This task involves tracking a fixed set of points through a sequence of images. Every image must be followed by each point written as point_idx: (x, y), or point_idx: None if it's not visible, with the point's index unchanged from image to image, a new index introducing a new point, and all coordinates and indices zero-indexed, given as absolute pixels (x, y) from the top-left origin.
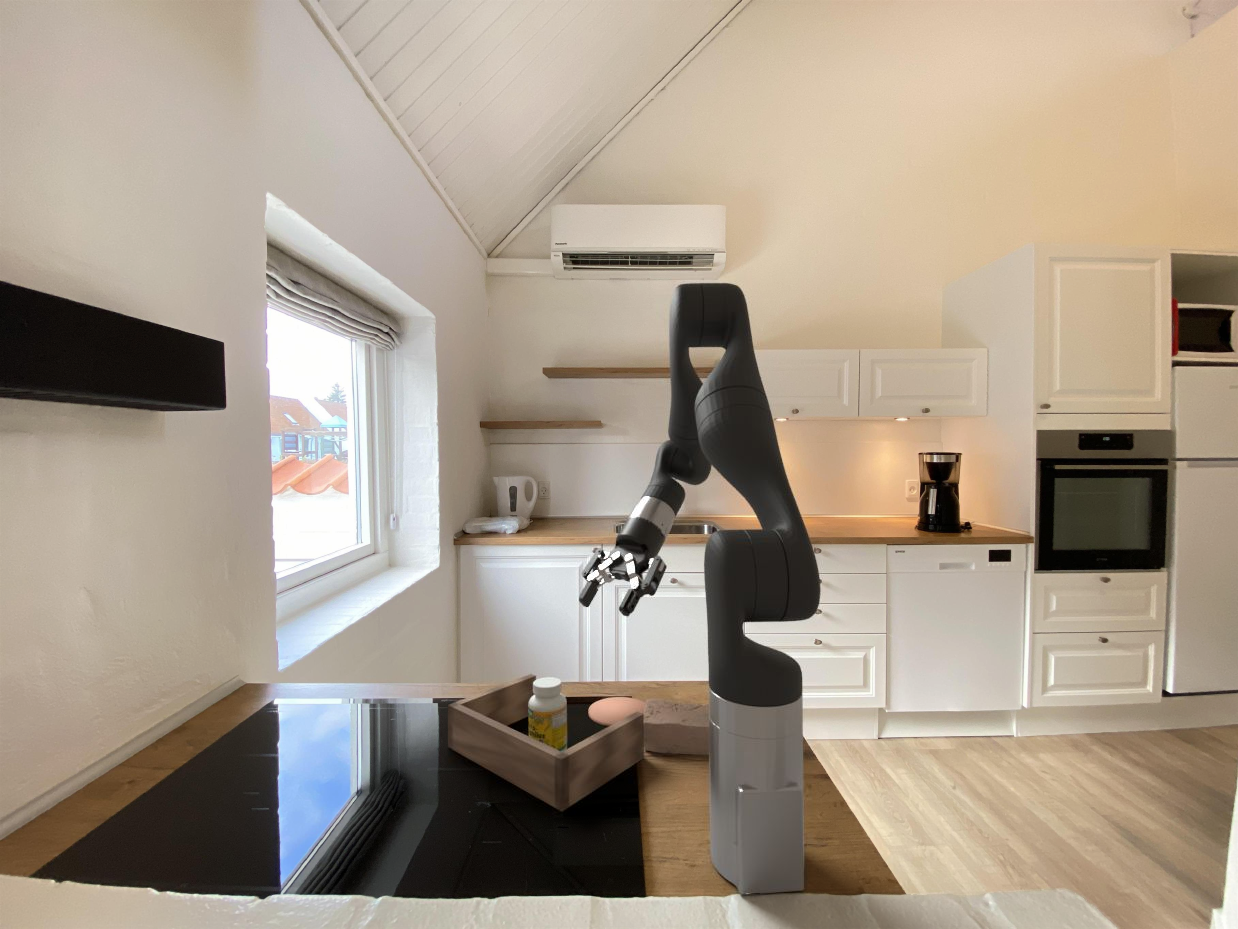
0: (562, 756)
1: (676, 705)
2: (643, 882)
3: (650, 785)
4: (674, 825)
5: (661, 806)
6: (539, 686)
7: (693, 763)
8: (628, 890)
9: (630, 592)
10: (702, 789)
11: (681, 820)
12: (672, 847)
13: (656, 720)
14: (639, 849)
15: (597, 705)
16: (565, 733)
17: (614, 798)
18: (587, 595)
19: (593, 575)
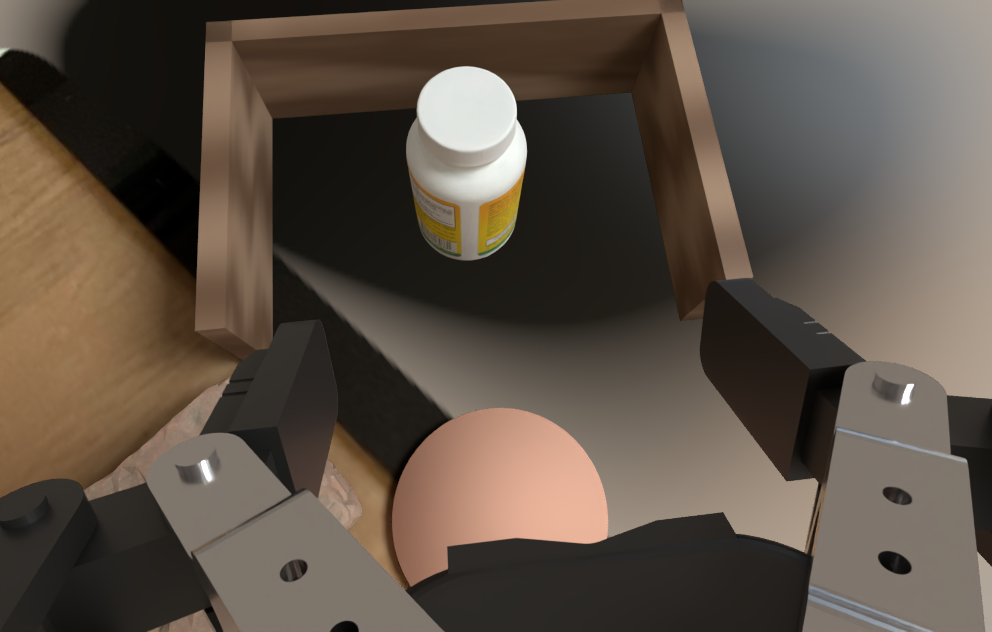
0: (213, 29)
1: None
2: (4, 82)
3: (158, 286)
4: (32, 218)
5: (90, 245)
6: (453, 69)
7: (120, 441)
8: (16, 58)
9: (240, 406)
10: (40, 360)
11: (27, 239)
12: (3, 170)
13: (210, 407)
14: (55, 129)
15: (578, 482)
16: (419, 216)
17: (195, 198)
18: (737, 335)
19: (885, 404)
